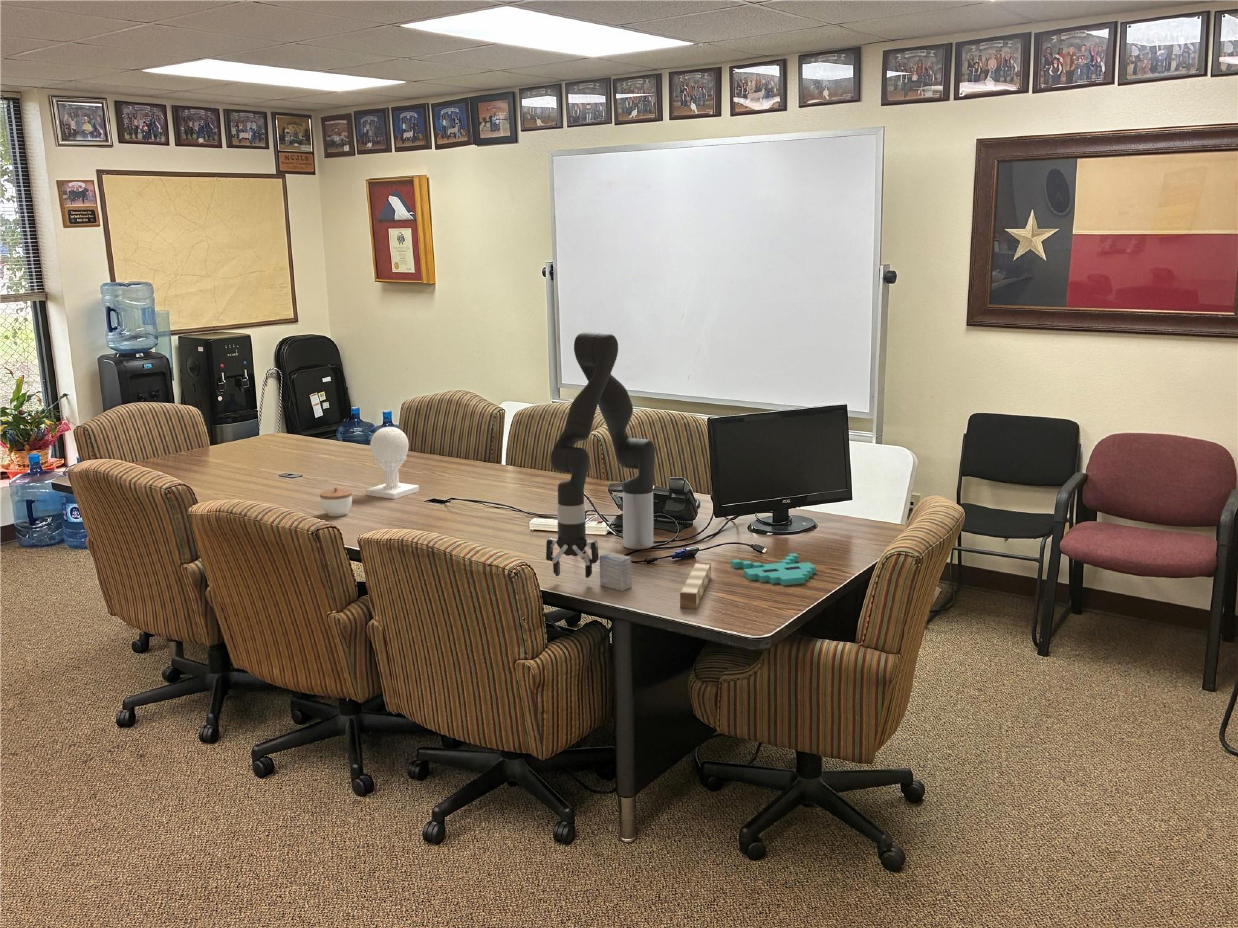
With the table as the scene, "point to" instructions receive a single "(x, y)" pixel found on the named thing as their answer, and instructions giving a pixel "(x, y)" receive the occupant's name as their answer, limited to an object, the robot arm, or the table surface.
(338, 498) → the lidded jar
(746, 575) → the alien figure
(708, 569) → the maple rail
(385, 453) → the trophy
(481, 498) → the table surface
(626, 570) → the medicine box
